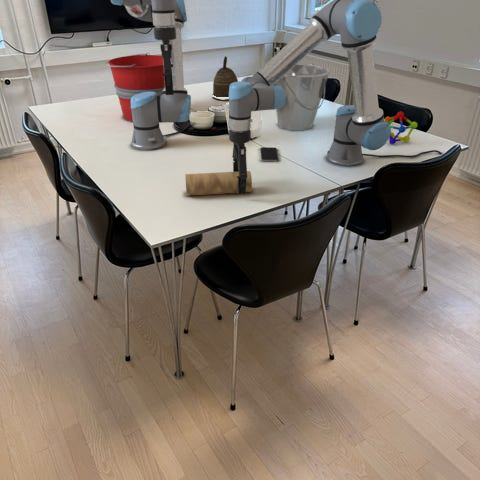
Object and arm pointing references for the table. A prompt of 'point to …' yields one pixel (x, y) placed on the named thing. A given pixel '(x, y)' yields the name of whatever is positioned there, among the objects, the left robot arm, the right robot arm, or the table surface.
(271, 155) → the smartphone
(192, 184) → the brown cylinder
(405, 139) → the educational toy
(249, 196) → the table surface
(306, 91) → the bucket
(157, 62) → the bucket
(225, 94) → the bell
